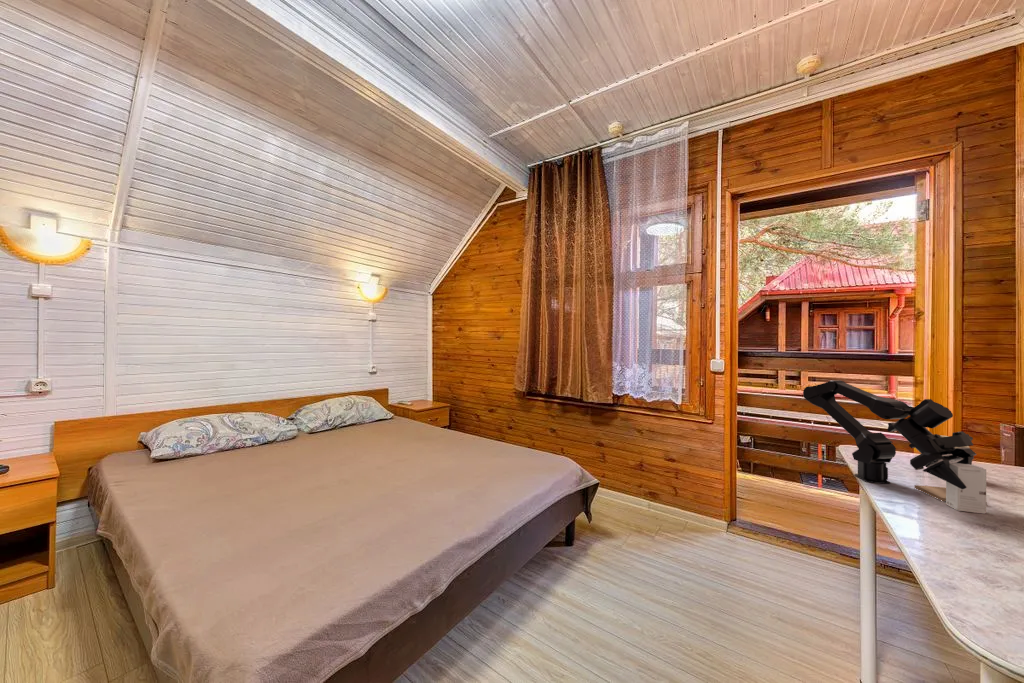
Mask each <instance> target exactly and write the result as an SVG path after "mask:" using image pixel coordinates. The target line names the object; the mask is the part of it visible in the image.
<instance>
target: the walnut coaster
mask: <svg viewBox="0 0 1024 683" xmlns="http://www.w3.org/2000/svg"><path fill="white" fill-rule="evenodd" d="M915 488H916V489H915ZM914 489H915V490H917V489H918V490H917V491H919V490H921V491H923V492H925V493H927V494H929V495H928V496H930V495H931V496H930V497H932V496H933V497H932V498H934V497H936V498H938V499H940V500H942V501H946V486H945V487H944V486H943V487H942V486H929V485H917V484H914ZM921 491H920V492H921ZM923 492H922V493H923ZM925 493H924V494H925ZM927 494H926V495H927ZM936 498H935V499H936ZM938 499H937V500H938ZM940 500H939V501H940ZM942 501H941V502H942ZM986 506H988V503H987V501H986Z"/></svg>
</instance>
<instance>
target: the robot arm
mask: <svg viewBox="0 0 1024 683" xmlns="http://www.w3.org/2000/svg"><path fill="white" fill-rule="evenodd" d="M835 395H840V396H843V397H845V398H847V399H850V400H851V401H854V402H856V403H858V404H861V405H862V406H865V407H866V408H868V409H869V411H871V413H872V414H874V415H875V416H878V417H879V418H881V419H883V420H897V421H894V422H888V424H887V426H888V427H887V432H889V433H891V432H895V431H896V432H898V433H899V434H900V435H901V436H902V437H903V438H904V439H906V441H907V442H908V443H909V444H908V446H909V447H910V449H914V448H915V449H916V450H917V451H918V452H919V453H920V454H918V455H917V456H914V457H913V458H910V459H909V460H910V461H909V465H910V466H911V467H912V468H913V469H914V470H915V471H919V470H922V472H924V473H927V474H930V475H932V476H934V477H937V478H938V479H940V480H943V481H944V482H946V481H947V482H949V483H951V484H953V485H955V486H957V487H959V488H961V489H965V488H967V487H966V486H965V484H964V483H963V482H962V481H961V480H960V478H959V477H958V476H957V475H956V474H955V473H954V472H953V471H952V470H951V468H950V464H949V463H961V464H970V465H973V464H972V463H973V460H974V459H975V458H974V457H975V456H977V453H976V452H975V451H974V450H973V449H971V446H974V443H973V442H972V441H973V440H974V438H973V437H972V436H971V435H970V434H968V433H966V432H965V431H956V432H952V434H951V435H950V436H948V435H947V436H948V437H941V436H940V434H938V433H936V434H935V433H932V432H931V431H930V430H929V429H935V428H938V426H940V425H941V424H943V423H945V422H947V421H949V419H951V418H953V417H954V415H953V413H952V411H951V410H950V408H948V407H946V406H944V405H943V404H940V403H938V402H936V401H934V399H931V398H927V399H926V398H925V399H923V400H922V401H921V402H920V403H919V404H917V405H916V406H911V405H909V404H908V403H906V402H905V401H901V400H898V399H894V398H890V397H885V396H879V395H875V394H873V393H871V392H869V391H866V390H864V389H861V388H859V387H857V386H854V385H851V384H849V383H847V382H845V381H844V380H841V379H836V380H835V379H834V380H833V379H832V380H828V381H827V382H824V383H820V384H816V385H812V386H810V385H809V386H806V387H804V388H803V392H802V396H803V397H802V398H804V400H806V401H807V402H809V403H811V405H813V406H816V407H818V408H821V409H822V410H823V411H825V412H826V413H827V414H828V415H829V416H830V417H831V418H832V419H833V420H834V421H835V422H836V423H837V424H838V425H840V426H841V428H842V429H843V430H845V431H846V432H847V433H848V434H849V435H850V436H851V437H852V438H853V439H854V441H855V445H856V447H857V449H856V450H855V451H853V452H852V453H851V455H852V458H853V460H855V461H857V473H854V476H855V477H857V478H859V479H861V480H862V481H864V480H865V481H864V482H866V481H867V482H868V483H877V484H878V483H879V484H891V482H890V481H889V467H887V463H888V464H889V463H891V461H892V459H893V458H894V457H895V456H896V453H897V448H896V446H895V445H894V444H893V443H894V441H893V440H890V439H889V438H887V436H886V435H885V434H884V433H882V432H871V431H870V430H868V428H867V427H865V426H864V425H863V424H862V423H861V422H860V421H859V420H857V418H855V417H854V416H853V415H852V414H850V412H848V411H847V410H846V409H845V408H844V407H843V406H842V405H841V404H840V403H838V402H837V401H836V396H835ZM928 428H929V429H928ZM964 446H969V447H970V448H965V447H964ZM955 447H962V448H955ZM924 467H925V468H924Z"/></svg>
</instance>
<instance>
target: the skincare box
mask: <svg viewBox="0 0 1024 683" xmlns="http://www.w3.org/2000/svg"><path fill="white" fill-rule="evenodd" d="M949 464H950V468H951V470H952V471H953V472H954V473H955V474H956V475H957V476H958V477H959V478H960V480H961V481H962V482H963V483H964V484H965V486H966V487H967V488H965V489H961V488H959V487H957V486H955V485H953V484H951V483H949V482H947V481H945V488H946V502H945V504H946V505H947V506H948V507H950V508H951V509H953V508H954V510H955V511H957V512H959V511H960V512H968V513H975V514H986V513H987V505H986V502H987V468H984V467H981V466H978V465H974V464H972V465H970V464H961V463H949Z"/></svg>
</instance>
